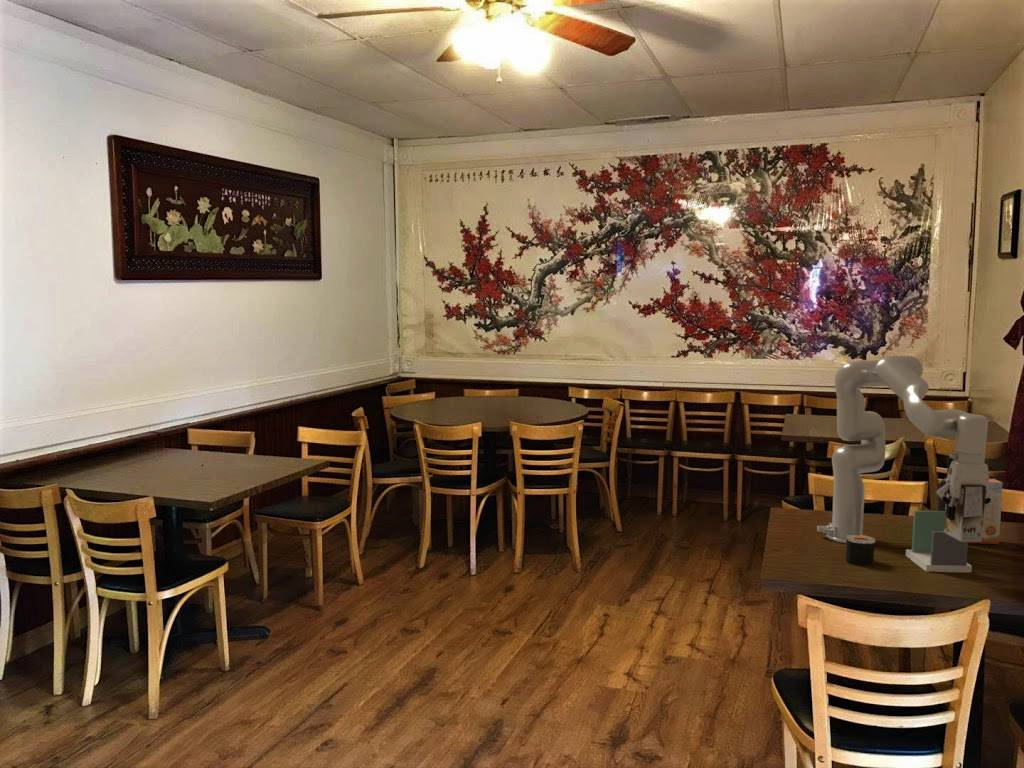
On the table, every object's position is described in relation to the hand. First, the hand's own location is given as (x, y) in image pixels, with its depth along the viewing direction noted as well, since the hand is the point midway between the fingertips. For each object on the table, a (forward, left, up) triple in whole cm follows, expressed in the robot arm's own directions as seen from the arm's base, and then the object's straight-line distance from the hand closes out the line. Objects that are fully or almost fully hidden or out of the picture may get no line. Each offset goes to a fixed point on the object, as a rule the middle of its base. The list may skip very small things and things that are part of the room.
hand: (963, 519), depth 240 cm
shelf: (0, +15, -18) cm, 23 cm away
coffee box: (0, 0, -6) cm, 6 cm away
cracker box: (+22, +39, -18) cm, 49 cm away
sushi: (-23, +15, -18) cm, 33 cm away
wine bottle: (+11, +33, -18) cm, 40 cm away
